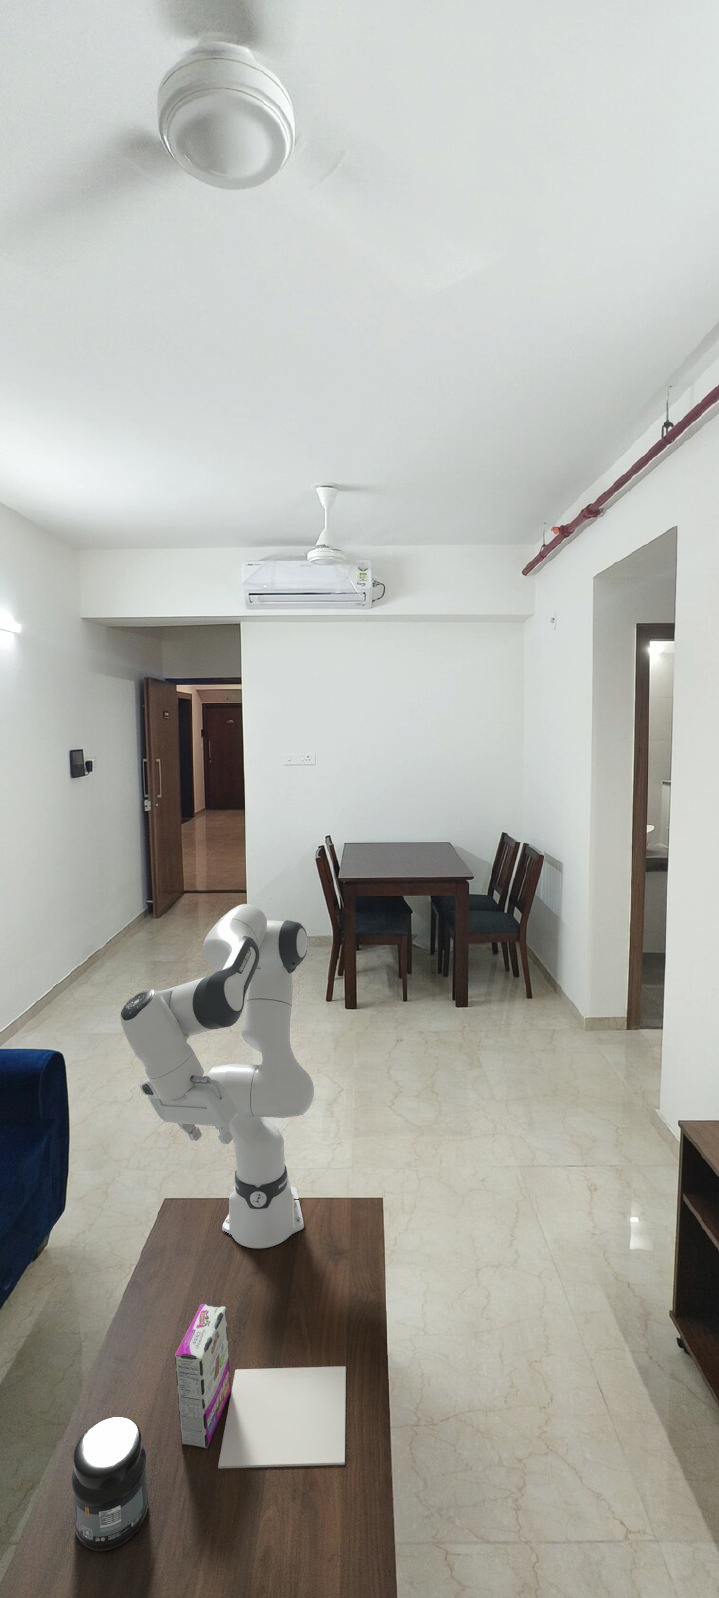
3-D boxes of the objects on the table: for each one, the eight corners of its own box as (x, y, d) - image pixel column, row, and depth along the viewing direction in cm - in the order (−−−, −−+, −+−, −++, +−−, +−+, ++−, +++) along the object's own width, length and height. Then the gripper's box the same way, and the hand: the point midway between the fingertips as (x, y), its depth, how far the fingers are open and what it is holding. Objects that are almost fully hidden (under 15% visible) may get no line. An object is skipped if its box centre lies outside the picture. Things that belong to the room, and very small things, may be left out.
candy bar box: (205, 1387, 136) (200, 1301, 134) (231, 1391, 135) (227, 1305, 133) (178, 1446, 125) (173, 1354, 124) (207, 1451, 124) (202, 1358, 123)
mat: (235, 1371, 139) (235, 1369, 139) (345, 1368, 139) (345, 1366, 139) (218, 1468, 121) (218, 1466, 121) (344, 1464, 121) (344, 1462, 121)
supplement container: (119, 1469, 122) (114, 1400, 120) (164, 1507, 116) (159, 1435, 114) (59, 1527, 113) (54, 1454, 112) (104, 1572, 107) (99, 1495, 106)
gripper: (224, 1065, 134) (259, 1130, 136) (159, 1065, 147) (192, 1125, 149) (199, 1089, 129) (235, 1156, 131) (134, 1087, 142) (168, 1148, 145)
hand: (212, 1140), depth 140 cm, fingers open, 8 cm apart
